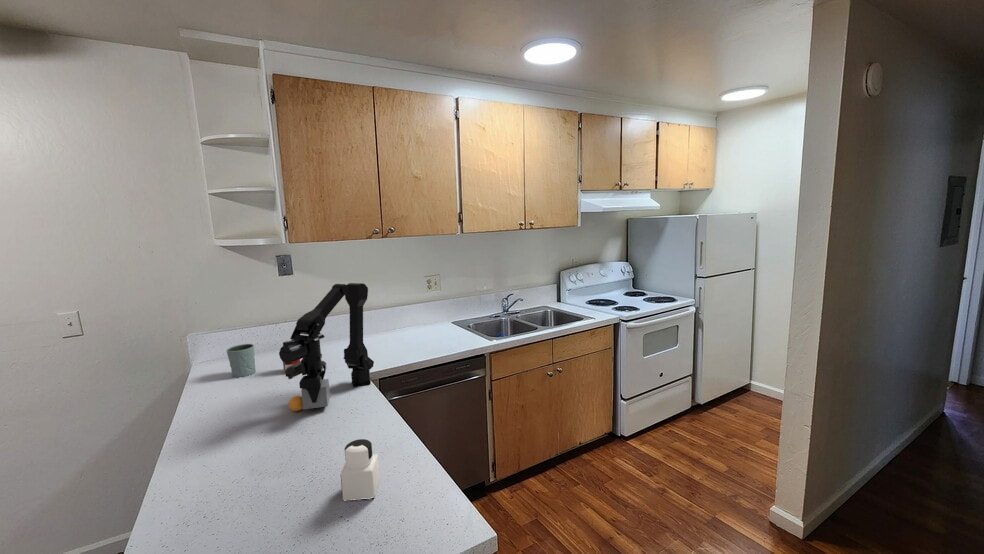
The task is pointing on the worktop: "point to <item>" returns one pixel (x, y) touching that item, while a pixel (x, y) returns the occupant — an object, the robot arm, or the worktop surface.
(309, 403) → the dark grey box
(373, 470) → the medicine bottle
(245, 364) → the green plant pot
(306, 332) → the robot arm
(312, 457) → the worktop surface
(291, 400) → the ball
